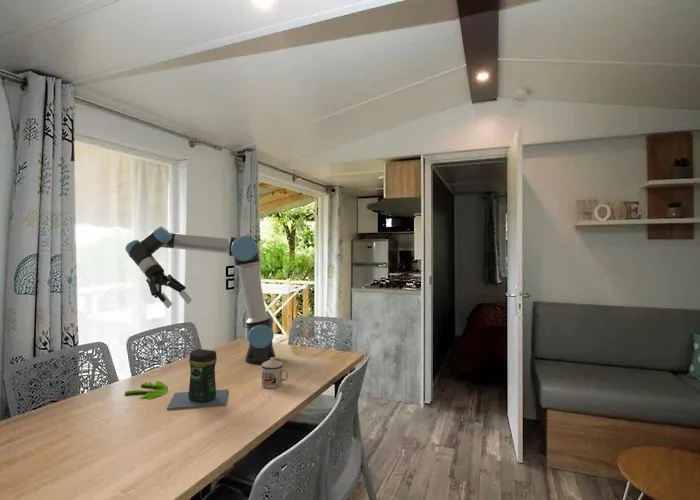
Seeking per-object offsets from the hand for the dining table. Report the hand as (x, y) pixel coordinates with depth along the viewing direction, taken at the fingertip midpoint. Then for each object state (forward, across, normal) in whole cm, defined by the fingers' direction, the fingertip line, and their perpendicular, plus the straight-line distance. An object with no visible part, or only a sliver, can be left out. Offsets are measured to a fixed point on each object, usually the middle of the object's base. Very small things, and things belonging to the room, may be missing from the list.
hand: (180, 304), depth 171 cm
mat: (+40, +20, -7) cm, 45 cm away
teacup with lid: (+55, -3, +8) cm, 55 cm away
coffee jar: (+40, +20, -6) cm, 45 cm away
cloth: (+22, +16, -26) cm, 37 cm away
